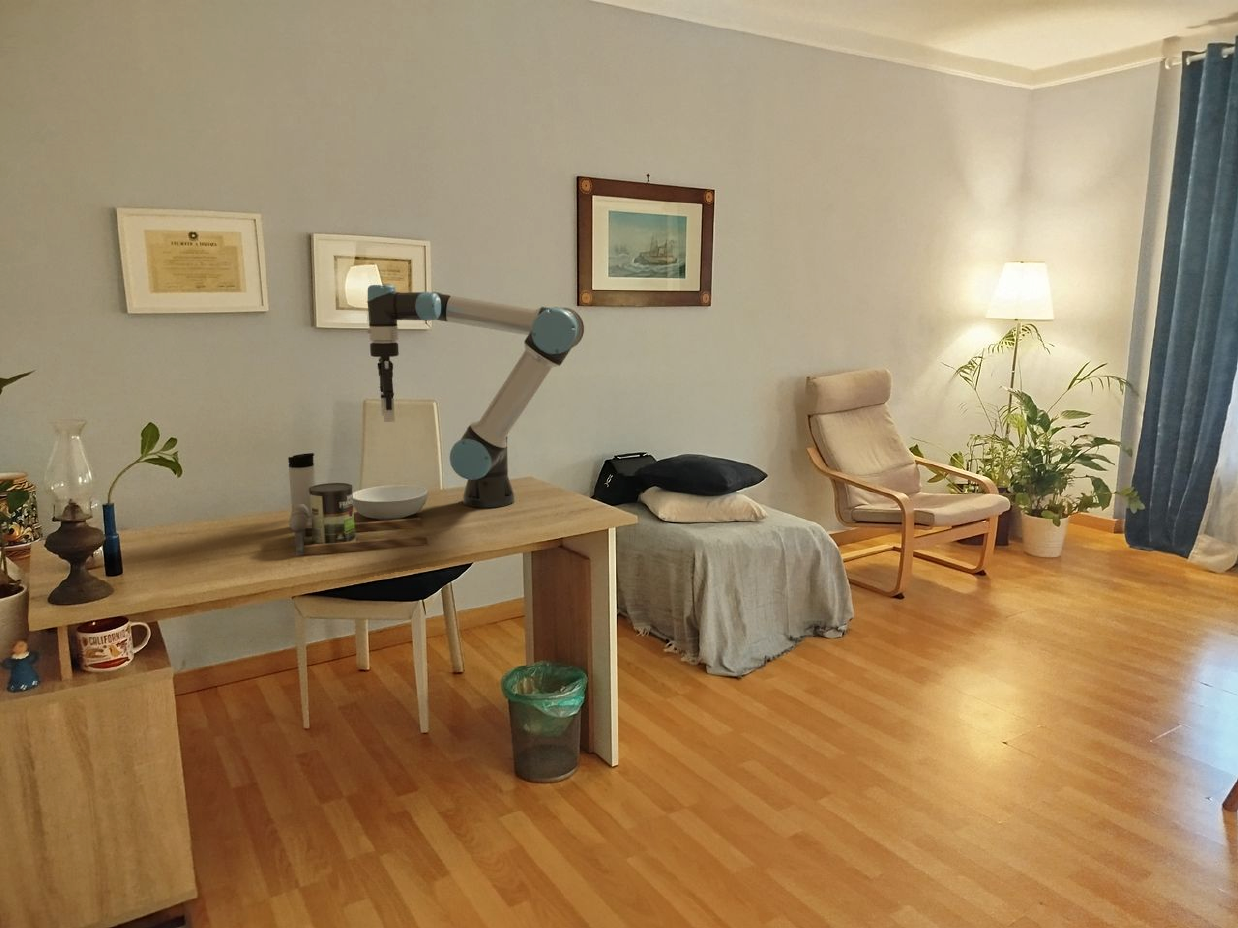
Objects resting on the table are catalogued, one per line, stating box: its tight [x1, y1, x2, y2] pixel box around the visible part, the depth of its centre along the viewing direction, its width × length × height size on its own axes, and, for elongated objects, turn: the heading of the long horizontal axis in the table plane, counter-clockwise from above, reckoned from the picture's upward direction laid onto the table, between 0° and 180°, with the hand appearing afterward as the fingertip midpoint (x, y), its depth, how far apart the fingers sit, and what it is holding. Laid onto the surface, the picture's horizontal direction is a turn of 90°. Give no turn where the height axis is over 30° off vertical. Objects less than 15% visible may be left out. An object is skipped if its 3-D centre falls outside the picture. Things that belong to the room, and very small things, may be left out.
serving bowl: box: [352, 484, 429, 521], centre depth 238 cm, size 21×21×7 cm
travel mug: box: [287, 452, 316, 527], centre depth 225 cm, size 6×7×20 cm
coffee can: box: [309, 482, 357, 545], centre depth 212 cm, size 10×10×14 cm
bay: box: [289, 504, 428, 557], centre depth 214 cm, size 32×19×9 cm, turn 108°
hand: (388, 418), depth 239 cm, fingers open, 13 cm apart
